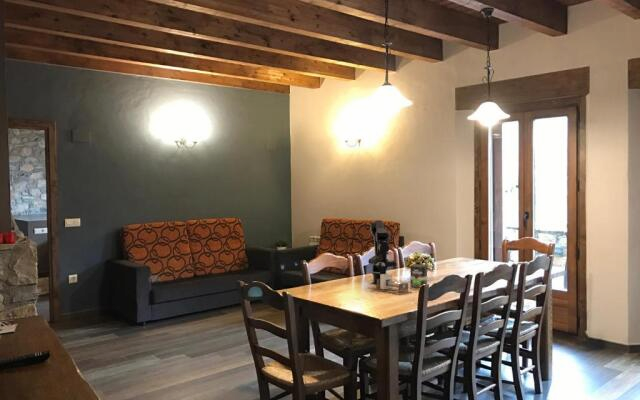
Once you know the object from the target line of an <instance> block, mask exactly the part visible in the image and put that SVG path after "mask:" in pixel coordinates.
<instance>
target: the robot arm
mask: <svg viewBox="0 0 640 400" xmlns="http://www.w3.org/2000/svg"><path fill="white" fill-rule="evenodd" d="M369 231H370V232H371V236H372V238H373V240H374V241H373V242H374V255H373V256H372V257H371V258H369V259H368V264H370V265H371V264H372V265H371V274H372V275H373V279H372V280H373V281H372V282H371V284H373V285H377V279H380V274H386V273H387V270H388V268H389V267H397V262H396V261H395V260H389V259H388V255H389V251H390V246H389V244H388V243H390V241H391V237H390V233H389V232H388V230H387V229H386V228H385V224H384V222H383V220H381V219H377V220H374V221H373V222H371V223H370V227H369Z"/></svg>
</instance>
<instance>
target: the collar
mask: <svg viewBox="0 0 640 400" xmlns="http://www.w3.org/2000/svg"><path fill="white" fill-rule="evenodd" d="M386 280H389V281H393V273H390V272H388V273H387V272H386V274H380V289H389V288H393V286H388V285H386Z"/></svg>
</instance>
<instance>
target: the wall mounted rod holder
mask: <svg viewBox="0 0 640 400" xmlns="http://www.w3.org/2000/svg"><path fill="white" fill-rule="evenodd" d="M403 284H404V285H405V284H406V287H403ZM404 288H405V289H404ZM373 290H374V291H378V292H384V293H387V294H392V295H395V296H396V295H397V296H404V295H409V293H410V294H412V293H413V292H412V291H409V283H408V282H403V283H402V282H400V284H399V288H396V287H392V288H389V289H380V279H377V284H376V287H374V288H373ZM396 291H399V292H396ZM392 292H395V293H392Z"/></svg>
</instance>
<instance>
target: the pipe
mask: <svg viewBox="0 0 640 400" xmlns="http://www.w3.org/2000/svg"><path fill="white" fill-rule="evenodd" d="M400 283H401V281H400V282H399V281H394V280H392V281H389V280H386V285H388V286H392V288H396V289H399V284H400ZM403 287H406V284H405V285H404V284H403ZM404 289H405V288H404ZM396 292H399V291H396ZM392 293H395V292H392ZM392 293H391V294H392Z"/></svg>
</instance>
